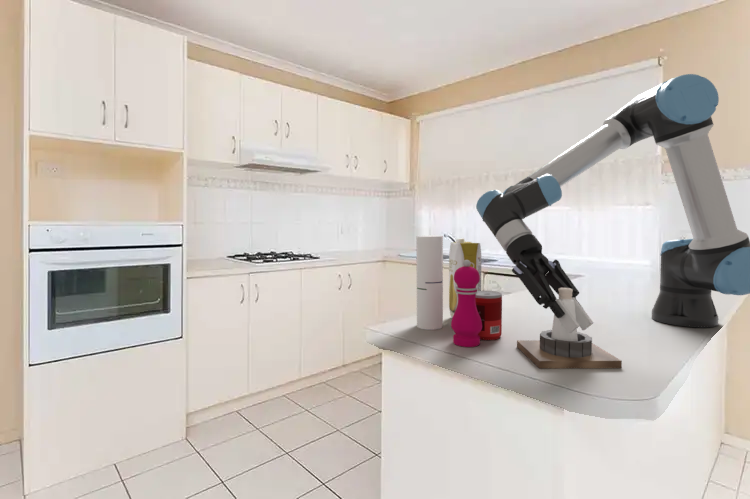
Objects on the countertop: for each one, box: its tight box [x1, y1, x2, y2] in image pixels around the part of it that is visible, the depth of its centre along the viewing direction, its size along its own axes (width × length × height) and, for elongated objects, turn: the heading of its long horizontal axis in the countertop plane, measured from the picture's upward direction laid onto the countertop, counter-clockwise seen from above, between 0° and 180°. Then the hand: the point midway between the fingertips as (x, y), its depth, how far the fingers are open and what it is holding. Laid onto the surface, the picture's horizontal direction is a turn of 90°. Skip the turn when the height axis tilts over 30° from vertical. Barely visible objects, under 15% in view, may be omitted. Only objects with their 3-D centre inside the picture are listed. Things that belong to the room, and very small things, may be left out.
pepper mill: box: [450, 260, 482, 348], centre depth 99 cm, size 7×7×20 cm
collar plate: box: [516, 329, 623, 369], centre depth 89 cm, size 16×14×4 cm
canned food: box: [475, 290, 503, 341], centre depth 105 cm, size 8×8×11 cm
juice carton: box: [448, 237, 482, 318], centre depth 122 cm, size 9×8×24 cm
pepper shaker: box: [551, 288, 578, 341], centre depth 89 cm, size 5×5×11 cm
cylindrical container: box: [416, 234, 444, 331], centre depth 115 cm, size 7×7×25 cm
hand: (581, 328), depth 85 cm, fingers closed on pepper shaker, 4 cm apart
